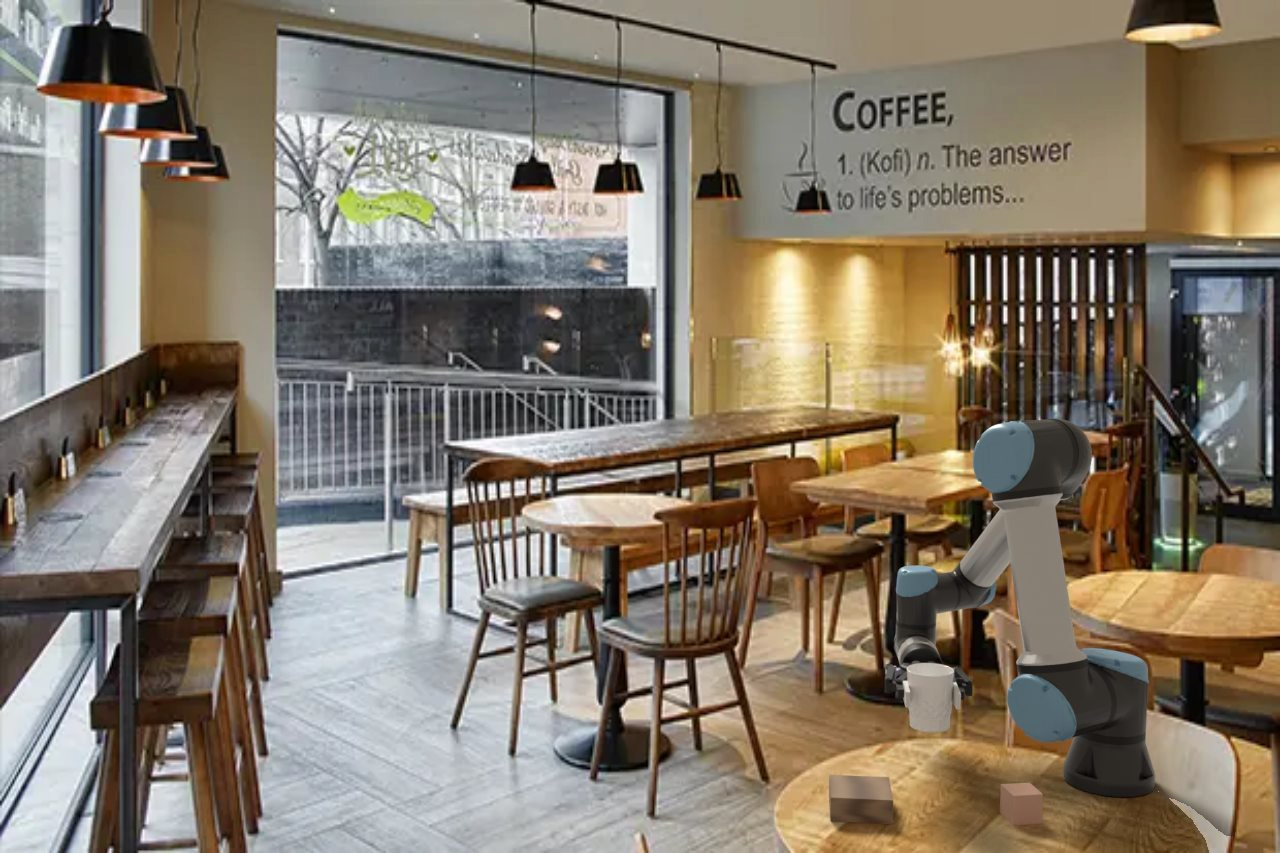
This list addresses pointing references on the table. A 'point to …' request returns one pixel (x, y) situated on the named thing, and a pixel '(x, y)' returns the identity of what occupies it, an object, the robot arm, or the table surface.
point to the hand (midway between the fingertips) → (933, 700)
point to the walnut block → (860, 799)
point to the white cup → (930, 696)
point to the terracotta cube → (1021, 803)
